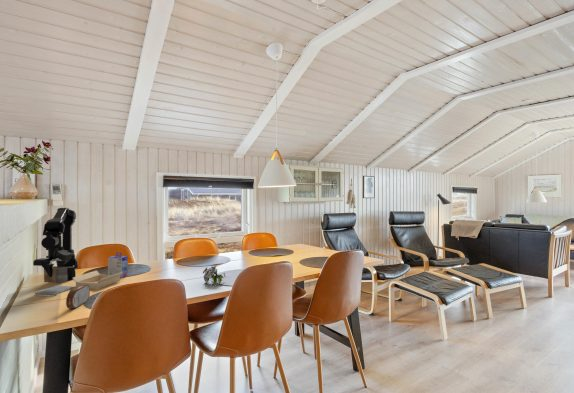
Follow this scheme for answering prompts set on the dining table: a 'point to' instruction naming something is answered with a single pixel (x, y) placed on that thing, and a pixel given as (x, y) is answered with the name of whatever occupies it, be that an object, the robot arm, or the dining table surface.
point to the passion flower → (212, 275)
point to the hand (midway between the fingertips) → (55, 275)
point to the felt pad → (54, 290)
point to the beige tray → (96, 279)
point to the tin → (77, 296)
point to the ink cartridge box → (118, 265)
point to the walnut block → (56, 275)
